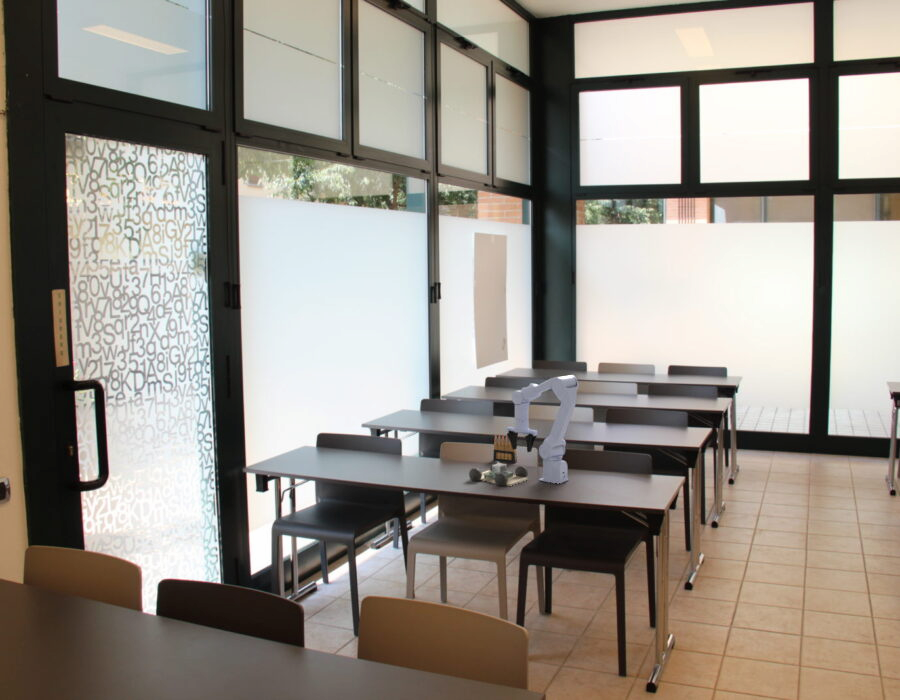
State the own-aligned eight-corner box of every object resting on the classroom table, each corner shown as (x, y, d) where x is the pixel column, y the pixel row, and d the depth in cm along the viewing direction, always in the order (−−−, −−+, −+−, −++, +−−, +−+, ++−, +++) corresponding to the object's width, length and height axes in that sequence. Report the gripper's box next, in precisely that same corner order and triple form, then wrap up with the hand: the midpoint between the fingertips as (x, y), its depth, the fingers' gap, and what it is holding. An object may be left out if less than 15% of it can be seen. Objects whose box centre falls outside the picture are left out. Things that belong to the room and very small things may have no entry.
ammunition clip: (516, 462, 376) (516, 435, 374) (515, 463, 374) (514, 436, 373) (495, 459, 381) (494, 433, 379) (493, 460, 379) (492, 434, 378)
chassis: (530, 479, 347) (530, 467, 346) (506, 487, 335) (506, 475, 334) (491, 471, 360) (490, 460, 359) (467, 479, 348) (467, 467, 347)
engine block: (506, 476, 348) (506, 464, 348) (500, 478, 344) (500, 466, 344) (498, 474, 351) (498, 462, 350) (492, 477, 347) (491, 465, 346)
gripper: (541, 419, 354) (541, 451, 355) (513, 415, 363) (513, 446, 365) (531, 421, 348) (532, 454, 350) (503, 417, 358) (503, 449, 359)
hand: (521, 450), depth 357 cm, fingers open, 7 cm apart
